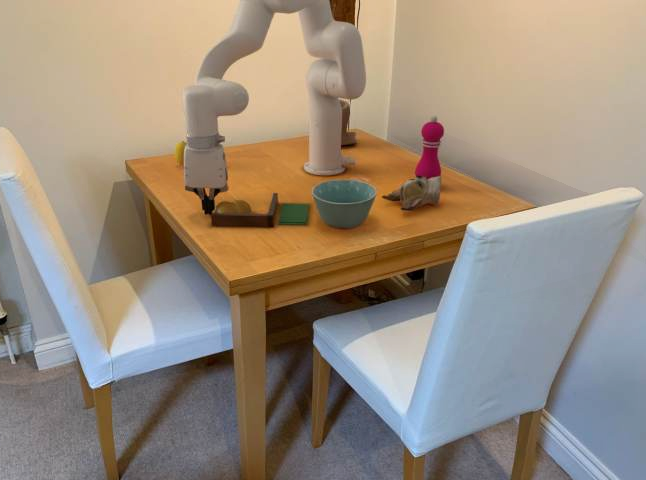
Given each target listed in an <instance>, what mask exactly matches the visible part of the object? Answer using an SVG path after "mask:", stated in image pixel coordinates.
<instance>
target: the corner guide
mask: <svg viewBox="0 0 646 480" xmlns="http://www.w3.org/2000/svg"><path fill="white" fill-rule="evenodd" d="M278 206H279V193H278V192H273V193H272V196H271V201H270V206H269V209H268V212H267V213H251V214H240V213H215V212H212V213H211V215H210V220H211V221H210V222H211V227H232V228H233V227H235V228H236V227H237V228H274V225H275V219H276V216H277V210H278Z"/></svg>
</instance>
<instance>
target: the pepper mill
mask: <svg viewBox="0 0 646 480" xmlns="http://www.w3.org/2000/svg"><path fill="white" fill-rule="evenodd" d="M420 134H421V136H422V138H423V139H422V140H421V145H422V154H421V157H420V159H419V160H418V162H417V164H416V166H415V169H414V176H415V177H416V176H417V175H421V176H423V177H425V178H426V179H427V180H428V179H430V178H434V177H438V176H441V177H442V168H441V163H440V160H439V156H438V155H439V154H438V153H439V147H441V143H442V140H441V139H442V138H443V137H444V134H445V128H444V126H443V125H442V123H440V122H439V121H438V116H436V115H433V116H430V121H428V122H426V123H424V124H423V126H422V128H421V131H420Z"/></svg>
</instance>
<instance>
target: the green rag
mask: <svg viewBox="0 0 646 480" xmlns="http://www.w3.org/2000/svg"><path fill="white" fill-rule="evenodd" d="M309 206H310V204H309V203H289V202H288V203H287V202H286V203H285V202H283V203H281V209H280V213H279V218H278V224H277V225H279V226H282V225H283V226H307V225H308V219H309V218H308V217H309Z"/></svg>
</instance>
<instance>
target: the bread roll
mask: <svg viewBox="0 0 646 480" xmlns="http://www.w3.org/2000/svg"><path fill="white" fill-rule="evenodd" d="M214 213H240V214H252V207H251V205H250V204H249V203H248V202H247V201H246V200H243V199H233V200H230V201H227V200H226V201H225V200H224V201H220V202H218V203H217V204H216V205H215V210H214Z"/></svg>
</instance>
